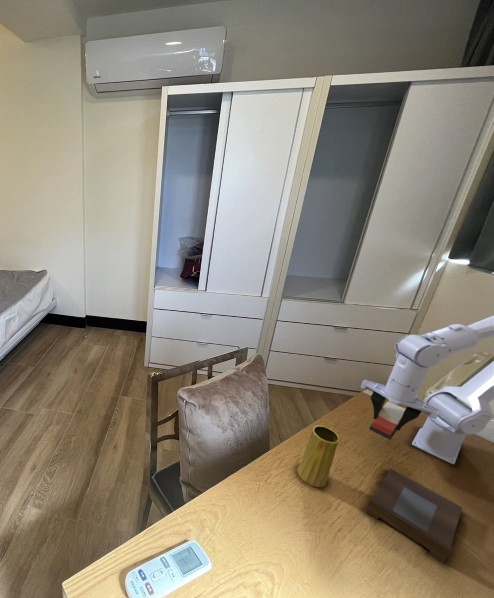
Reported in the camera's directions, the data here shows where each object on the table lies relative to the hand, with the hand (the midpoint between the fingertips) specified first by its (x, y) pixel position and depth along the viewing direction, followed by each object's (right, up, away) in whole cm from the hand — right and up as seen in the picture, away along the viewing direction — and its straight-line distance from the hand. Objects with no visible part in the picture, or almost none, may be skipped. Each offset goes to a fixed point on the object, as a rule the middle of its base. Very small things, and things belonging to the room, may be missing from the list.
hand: (386, 422), depth 81 cm
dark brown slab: (-7, -15, -13) cm, 21 cm away
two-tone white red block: (0, -1, +1) cm, 1 cm away
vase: (-23, -12, -4) cm, 27 cm away
